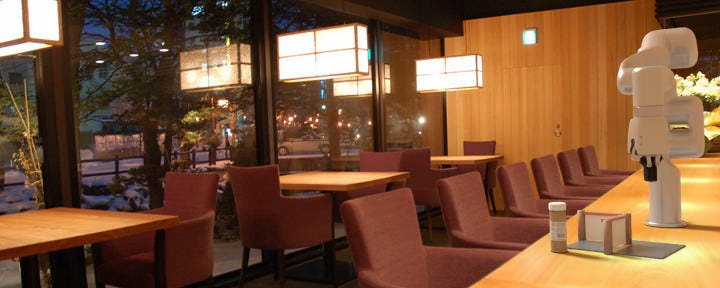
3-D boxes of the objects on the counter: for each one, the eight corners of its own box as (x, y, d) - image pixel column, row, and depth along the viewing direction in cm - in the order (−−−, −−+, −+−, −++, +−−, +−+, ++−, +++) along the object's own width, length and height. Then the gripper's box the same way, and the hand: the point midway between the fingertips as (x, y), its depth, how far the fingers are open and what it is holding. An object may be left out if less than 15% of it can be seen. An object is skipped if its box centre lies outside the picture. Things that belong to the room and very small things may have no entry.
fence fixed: (579, 239, 182) (579, 209, 182) (633, 245, 172) (632, 213, 171) (555, 248, 170) (554, 216, 170) (611, 255, 160) (610, 221, 160)
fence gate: (621, 242, 171) (620, 214, 171) (627, 243, 170) (626, 215, 170) (601, 248, 165) (601, 219, 165) (607, 249, 164) (606, 219, 163)
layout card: (592, 237, 186) (592, 235, 186) (685, 246, 168) (685, 244, 168) (563, 248, 171) (563, 246, 171) (661, 259, 153) (661, 257, 153)
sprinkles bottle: (566, 249, 168) (565, 201, 168) (568, 253, 164) (566, 203, 164) (549, 249, 169) (547, 201, 169) (550, 253, 165) (549, 203, 165)
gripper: (663, 111, 167) (665, 177, 168) (615, 114, 164) (617, 182, 165) (683, 111, 160) (684, 180, 161) (633, 114, 157) (635, 185, 158)
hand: (650, 181), depth 163 cm, fingers closed
